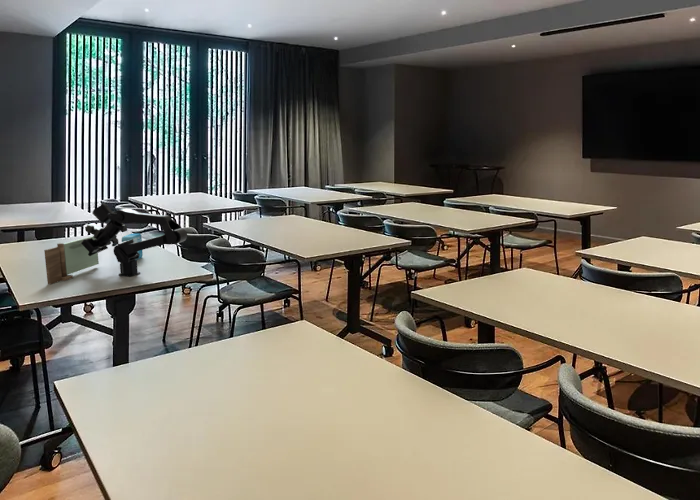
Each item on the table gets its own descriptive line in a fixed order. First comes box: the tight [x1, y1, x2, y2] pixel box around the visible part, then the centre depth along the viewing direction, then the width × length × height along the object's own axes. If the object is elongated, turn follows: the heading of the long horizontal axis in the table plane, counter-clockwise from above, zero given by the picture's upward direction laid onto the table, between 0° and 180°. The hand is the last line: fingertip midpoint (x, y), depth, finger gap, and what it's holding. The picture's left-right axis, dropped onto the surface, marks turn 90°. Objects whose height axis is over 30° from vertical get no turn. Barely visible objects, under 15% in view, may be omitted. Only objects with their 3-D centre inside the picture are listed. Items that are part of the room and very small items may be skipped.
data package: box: [121, 233, 144, 260], centre depth 275 cm, size 12×4×12 cm, turn 176°
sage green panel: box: [64, 235, 100, 275], centre depth 248 cm, size 3×22×13 cm, turn 169°
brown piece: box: [44, 242, 74, 285], centre depth 233 cm, size 5×11×15 cm, turn 169°
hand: (89, 255), depth 248 cm, fingers closed
